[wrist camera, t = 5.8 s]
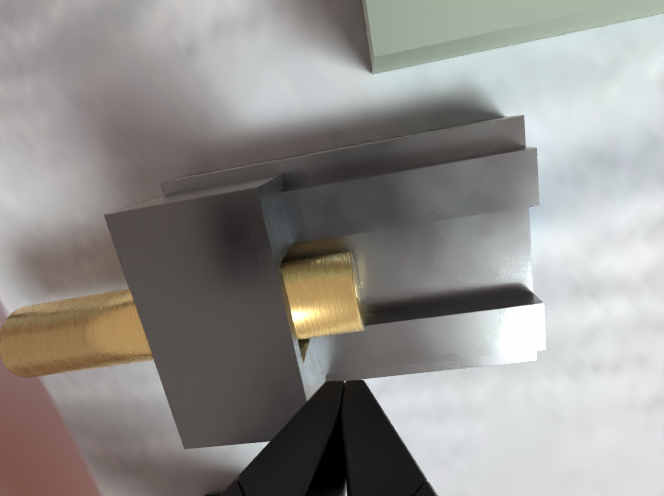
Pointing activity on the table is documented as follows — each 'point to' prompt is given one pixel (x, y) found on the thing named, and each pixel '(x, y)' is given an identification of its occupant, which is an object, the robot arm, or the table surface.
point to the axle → (127, 332)
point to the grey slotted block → (325, 239)
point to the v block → (480, 25)
